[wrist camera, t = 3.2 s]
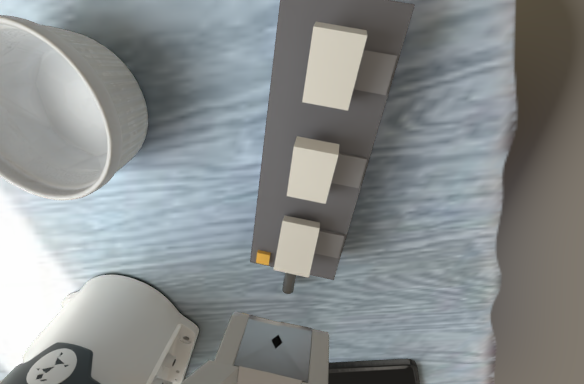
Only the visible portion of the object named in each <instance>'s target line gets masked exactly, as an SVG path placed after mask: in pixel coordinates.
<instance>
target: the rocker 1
mask: <svg viewBox="0 0 584 384" xmlns="http://www.w3.org/2000/svg"><path fill="white" fill-rule="evenodd" d="M366 39H367V30H362V29H357V28H351V27H345V26H339V25H333V24H327V23H321V22H316V23H315V24H314V26H313V32H312V39H311V46H310V53H309V59H308V66H307V73H306V80H305V86H304V93H303V100H302V102H304V103H309V104H315V105H320V106H326V107H331V108H336V109H342V110H347V111H348V108H349V105H350V101H351V97H352V93H353V89H354V85H355V81H356V78H357V74H358V70H359V66H360V62H361V58H362V54H363V50H364V47H365V43H366Z"/></svg>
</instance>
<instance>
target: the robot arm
mask: <svg viewBox="0 0 584 384" xmlns="http://www.w3.org/2000/svg"><path fill="white" fill-rule="evenodd" d="M61 306H62V308H63V309H62V310H61V311H60V312H59V313H58V314H57V315H56V317H55V318H54V319H53V320H52V321H51V322H50V323H49V324H48V326H47V327H46V328H45V329H44V330H43V331H42V332H41V334H40V335H39V336H38V337H37V338H36V339H35V340H34V342H33V343H32V344H31V345H30V346H29V347H28V348H27V350H26V351H25V352H24V354H23V363H22V364H20V365H18V366H16V367H15V368H14V369H13V370H12V371H11V372H10V373H9V374H8V375H7V376H6V377H5V378H4V379H3V380H1V381H0V384H328V366H329V334H328V332H324V331H320V330H315V329H312V328H308V327H303V326H298V325H293V324H288V323H284V322H281V323H280V322H276V321H272V320H268V319H264V318H260V317H256V316H252V315H248V314H244V313H240V312H235V311H234V313H233V314H232V316H231V318H230V321H229V323H228V326H227V329H226V331H225V334H224V336H223V339H222V341H221V344H220V347H219V349H218V352H217V354H216V357H215V359H214V361H212V360H208V361H207V362H206V363H205V364H203V365H202V366H201V367H200V368H199V369H197V370H196V371H195V372H194V373H192V374H191V375H190V376H189V377H188V378H186V379H185V380H184V377H185V374H186V370H187V367H188V364H189V361H190V358H191V355H192V352H193V349H194V345H195V342H196V339H197V336H198V333H199V328H198V327H197V326H196V325H195V324H194V323H193V322H191V321H190V320H189V319H187V318H186V317H184V316H183V315H181V314H180V313H179V311H178V310H177V309H176V308H175V307H174V305H173V304H172V303H171V302H170V301H169V300H168V299H167V298H166V297H165V296H164V295H163V294H161V293H160V292H159V291H157V290H156V289H154V288H153V287H151V286H149V285H147V284H145V283H143V282H141V281H139V280H136V279H133V278H130V277H126V276H120V275H102V276H97V277H94V278H92V279H90V280H89V281H88V282H86V284H85V285H84V286H83V287H82V289H81V290H80V291H78V292H75V293H72V294H69V295H67V296H66V297H65V299H64V300H63V301H62V302H61ZM183 380H184V381H183Z"/></svg>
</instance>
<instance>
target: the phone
mask: <svg viewBox="0 0 584 384" xmlns="http://www.w3.org/2000/svg"><path fill="white" fill-rule="evenodd" d="M328 384H420V381H419V375H418V370H417V365H416V363H415V362H414V361H413V360H411V359H393V360H374V361H355V362H336V363H329V366H328Z"/></svg>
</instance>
